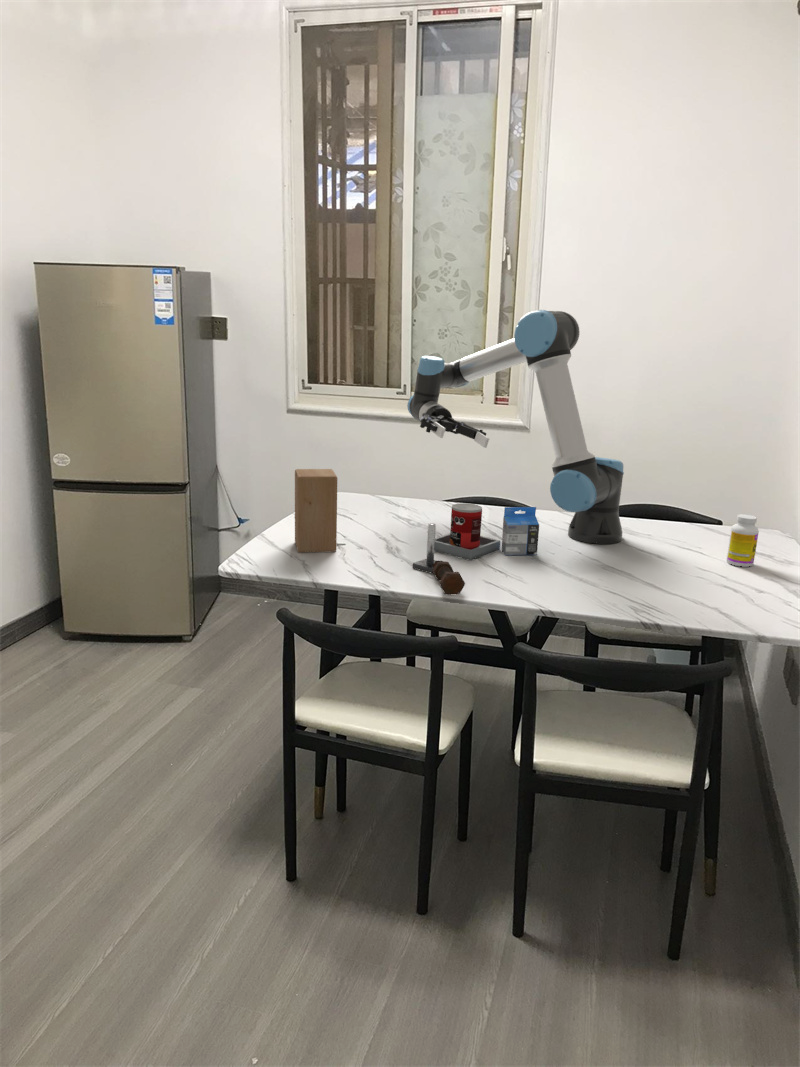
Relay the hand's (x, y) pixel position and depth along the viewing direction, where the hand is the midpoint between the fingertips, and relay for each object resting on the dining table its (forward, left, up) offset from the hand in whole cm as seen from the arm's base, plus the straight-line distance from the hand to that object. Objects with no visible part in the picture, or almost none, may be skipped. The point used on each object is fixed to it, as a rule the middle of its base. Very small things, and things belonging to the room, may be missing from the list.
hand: (465, 438), depth 212 cm
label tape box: (-19, -1, -29) cm, 34 cm away
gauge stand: (-10, +26, -28) cm, 40 cm away
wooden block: (+22, +34, -29) cm, 50 cm away
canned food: (-7, +7, -28) cm, 29 cm away
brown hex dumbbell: (-19, +32, -29) cm, 47 cm away
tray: (-7, +7, -28) cm, 30 cm away
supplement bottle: (-65, -36, -29) cm, 79 cm away
